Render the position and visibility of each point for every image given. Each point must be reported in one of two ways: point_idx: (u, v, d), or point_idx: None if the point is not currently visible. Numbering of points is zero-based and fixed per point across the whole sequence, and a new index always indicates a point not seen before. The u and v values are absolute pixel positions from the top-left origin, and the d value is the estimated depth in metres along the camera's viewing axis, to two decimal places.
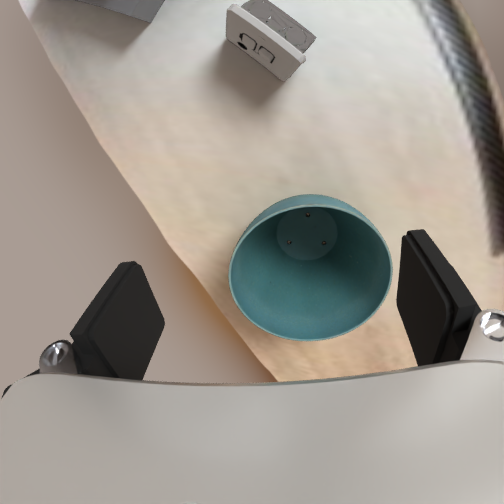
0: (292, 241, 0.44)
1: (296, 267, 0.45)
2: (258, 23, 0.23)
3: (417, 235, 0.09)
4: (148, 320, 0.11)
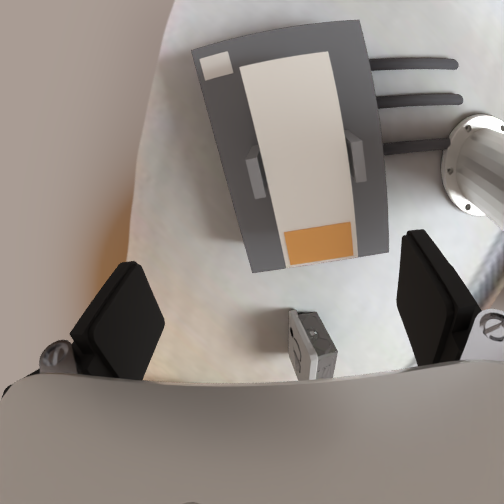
0: None
1: None
2: (313, 376, 0.35)
3: (417, 235, 0.09)
4: (148, 320, 0.11)
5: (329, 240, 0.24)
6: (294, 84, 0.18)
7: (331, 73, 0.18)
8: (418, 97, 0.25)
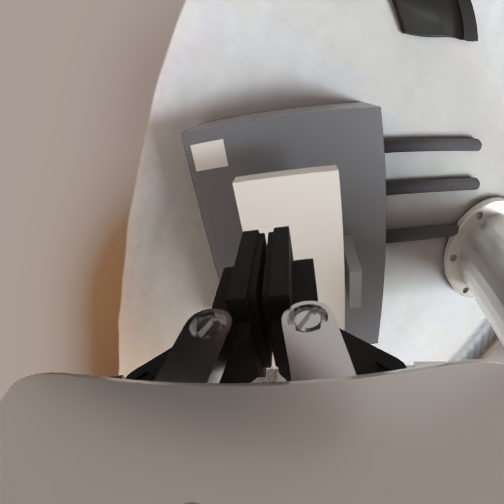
0: None
1: None
2: None
3: (277, 231, 0.10)
4: None
5: None
6: (294, 208, 0.18)
7: (339, 197, 0.17)
8: (432, 184, 0.25)
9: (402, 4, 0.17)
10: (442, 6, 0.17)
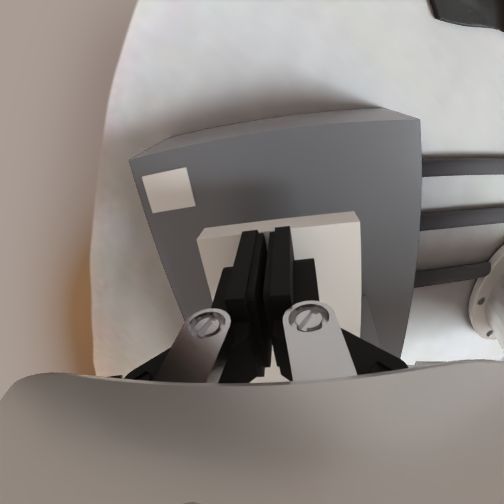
0: None
1: None
2: None
3: (278, 231, 0.10)
4: None
5: None
6: None
7: (358, 261, 0.11)
8: (467, 217, 0.19)
9: None
10: None
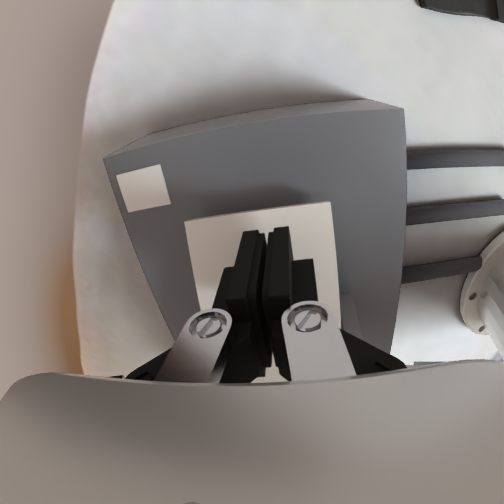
0: None
1: None
2: None
3: (277, 231, 0.10)
4: None
5: None
6: None
7: (332, 242, 0.12)
8: (456, 210, 0.18)
9: None
10: None
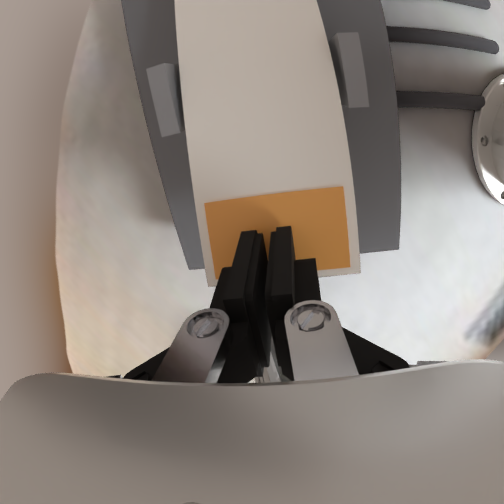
0: None
1: None
2: None
3: (280, 231, 0.10)
4: None
5: (298, 226, 0.11)
6: None
7: None
8: (441, 33, 0.15)
9: None
10: None
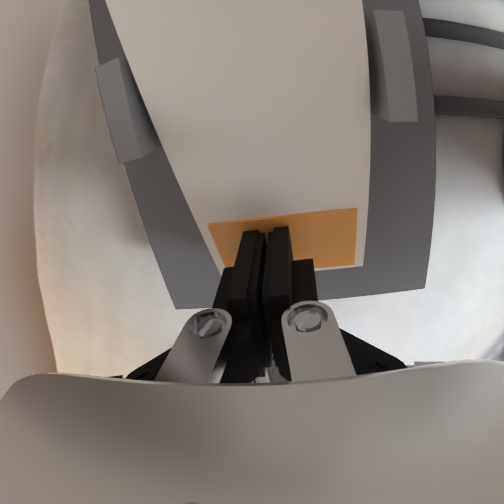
0: None
1: None
2: None
3: (277, 231, 0.10)
4: None
5: (307, 238, 0.11)
6: None
7: None
8: (474, 28, 0.11)
9: None
10: None
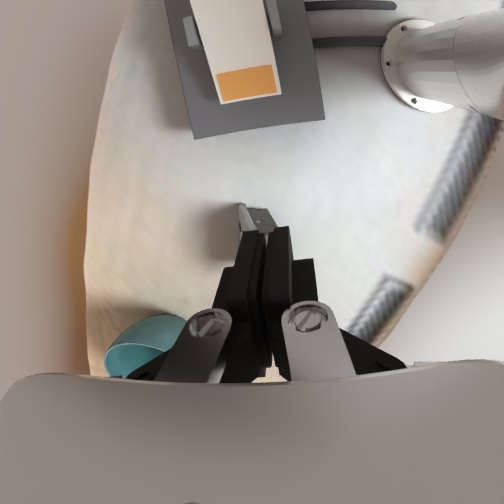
0: None
1: None
2: None
3: (277, 231, 0.10)
4: None
5: (254, 79, 0.26)
6: None
7: None
8: (350, 1, 0.26)
9: None
10: None
